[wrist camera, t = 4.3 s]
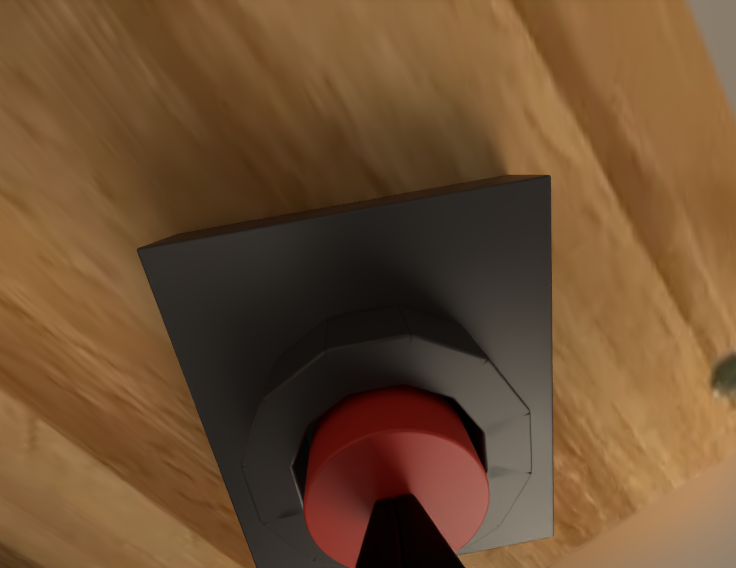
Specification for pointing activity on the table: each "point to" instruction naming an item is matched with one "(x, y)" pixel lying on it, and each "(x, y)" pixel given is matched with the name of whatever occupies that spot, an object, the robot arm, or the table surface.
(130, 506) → the table surface
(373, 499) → the light button
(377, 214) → the lamp switch
